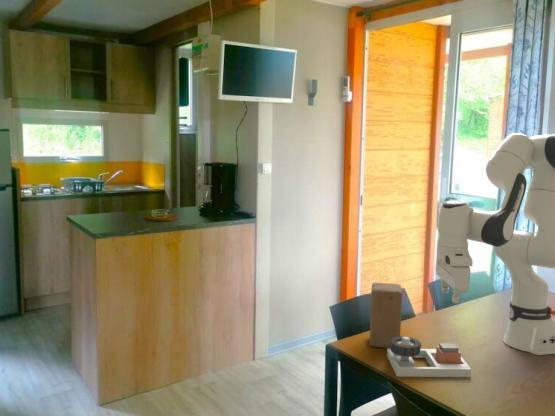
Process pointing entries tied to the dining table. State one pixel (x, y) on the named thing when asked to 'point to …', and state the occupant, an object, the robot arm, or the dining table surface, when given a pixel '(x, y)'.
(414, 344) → the wheel
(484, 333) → the dining table surface
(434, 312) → the dining table surface
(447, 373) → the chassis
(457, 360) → the two-tone grey-capped cube
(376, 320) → the wooden block
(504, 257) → the robot arm
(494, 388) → the dining table surface
